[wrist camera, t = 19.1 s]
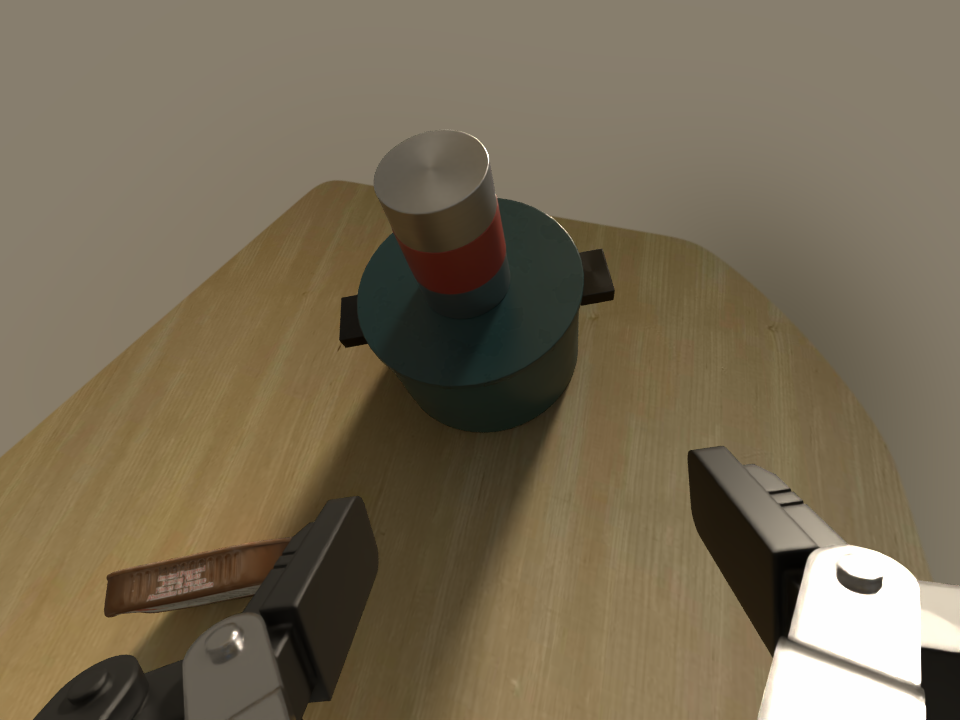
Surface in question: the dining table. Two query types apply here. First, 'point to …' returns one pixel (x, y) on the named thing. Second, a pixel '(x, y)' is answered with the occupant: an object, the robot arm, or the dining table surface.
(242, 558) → the tin
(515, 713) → the dining table surface
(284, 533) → the dining table surface
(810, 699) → the robot arm
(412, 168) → the can
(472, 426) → the pot
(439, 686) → the dining table surface
